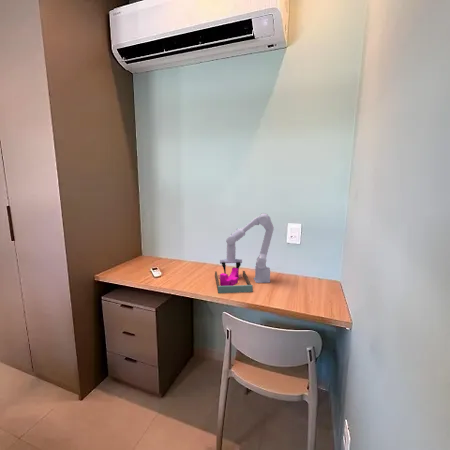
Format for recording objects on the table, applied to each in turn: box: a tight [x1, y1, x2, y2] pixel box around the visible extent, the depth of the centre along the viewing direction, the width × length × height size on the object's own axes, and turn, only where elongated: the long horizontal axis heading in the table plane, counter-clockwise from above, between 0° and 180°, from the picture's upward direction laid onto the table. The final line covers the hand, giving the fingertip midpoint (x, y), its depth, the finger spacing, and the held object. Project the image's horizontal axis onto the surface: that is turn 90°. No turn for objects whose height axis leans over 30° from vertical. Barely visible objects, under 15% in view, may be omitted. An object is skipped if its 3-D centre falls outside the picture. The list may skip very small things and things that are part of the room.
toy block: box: [219, 266, 240, 286], centre depth 172 cm, size 15×6×8 cm, turn 143°
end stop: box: [217, 284, 254, 294], centre depth 159 cm, size 20×1×4 cm, turn 96°
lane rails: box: [214, 270, 252, 291], centre depth 173 cm, size 20×26×3 cm
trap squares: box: [217, 274, 244, 280], centre depth 183 cm, size 16×6×1 cm, turn 96°
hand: (230, 273), depth 180 cm, fingers open, 7 cm apart
